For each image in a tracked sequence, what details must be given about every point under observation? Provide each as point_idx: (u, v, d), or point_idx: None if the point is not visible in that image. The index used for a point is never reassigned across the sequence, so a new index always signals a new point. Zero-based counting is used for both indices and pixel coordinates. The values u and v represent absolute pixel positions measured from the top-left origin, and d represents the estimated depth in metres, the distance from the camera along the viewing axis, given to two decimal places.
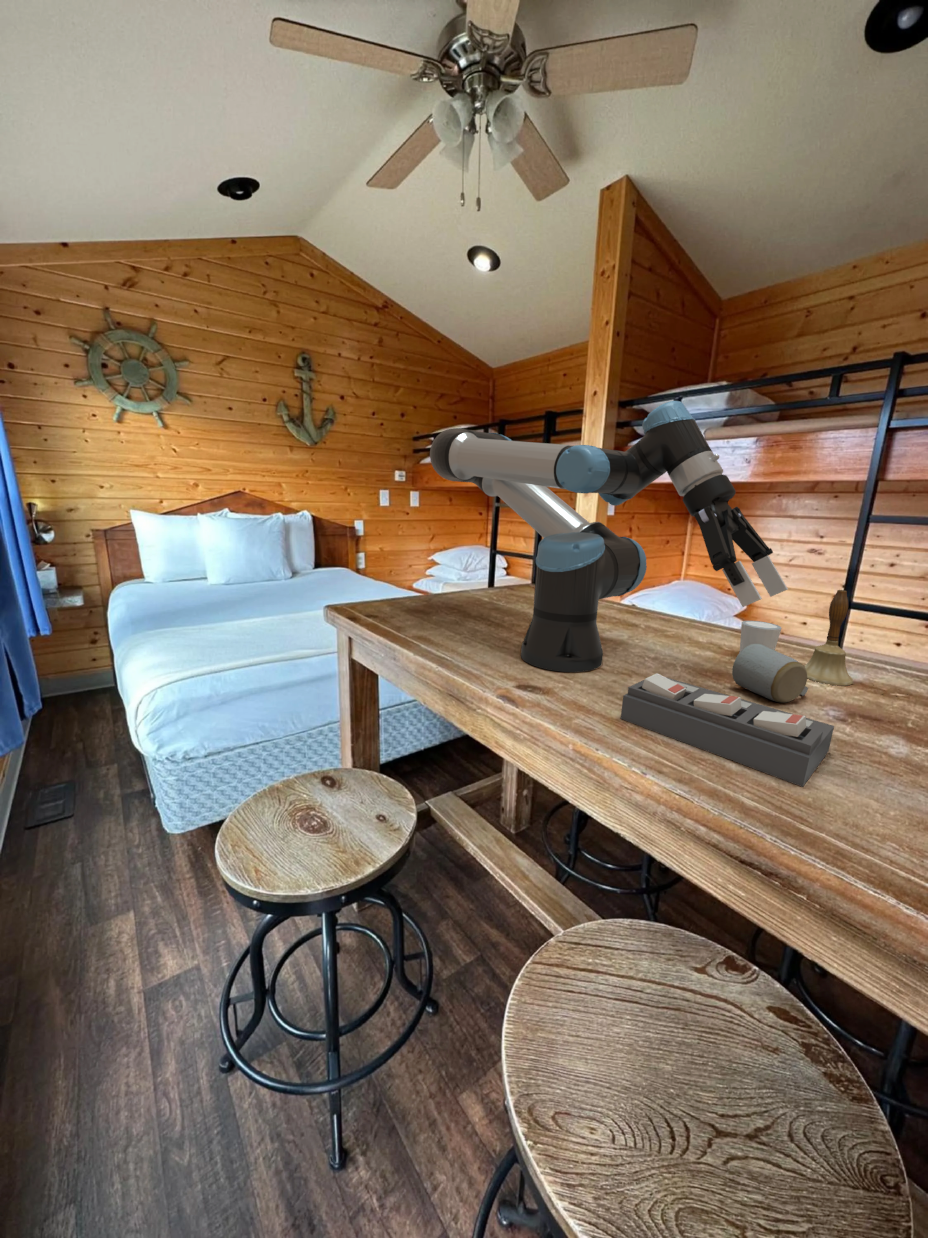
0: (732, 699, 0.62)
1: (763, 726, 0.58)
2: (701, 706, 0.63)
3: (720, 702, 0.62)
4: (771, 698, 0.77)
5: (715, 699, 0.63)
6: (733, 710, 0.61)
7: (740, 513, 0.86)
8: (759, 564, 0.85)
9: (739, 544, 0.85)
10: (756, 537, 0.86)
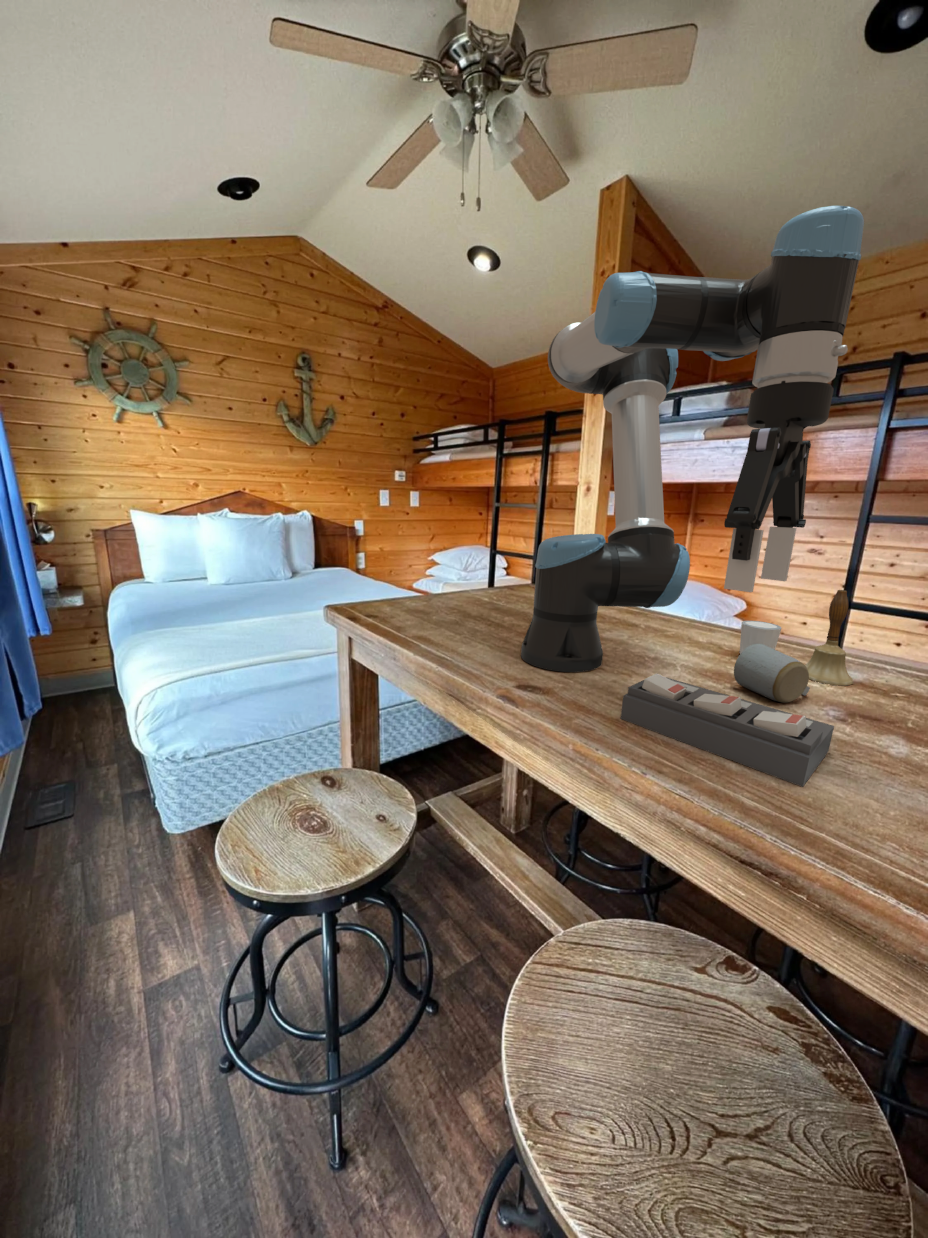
0: (732, 699, 0.62)
1: (763, 726, 0.58)
2: (701, 706, 0.63)
3: (720, 702, 0.62)
4: (773, 698, 0.77)
5: (715, 699, 0.63)
6: (733, 710, 0.61)
7: (806, 453, 0.58)
8: (777, 533, 0.61)
9: (774, 495, 0.59)
10: (800, 495, 0.60)
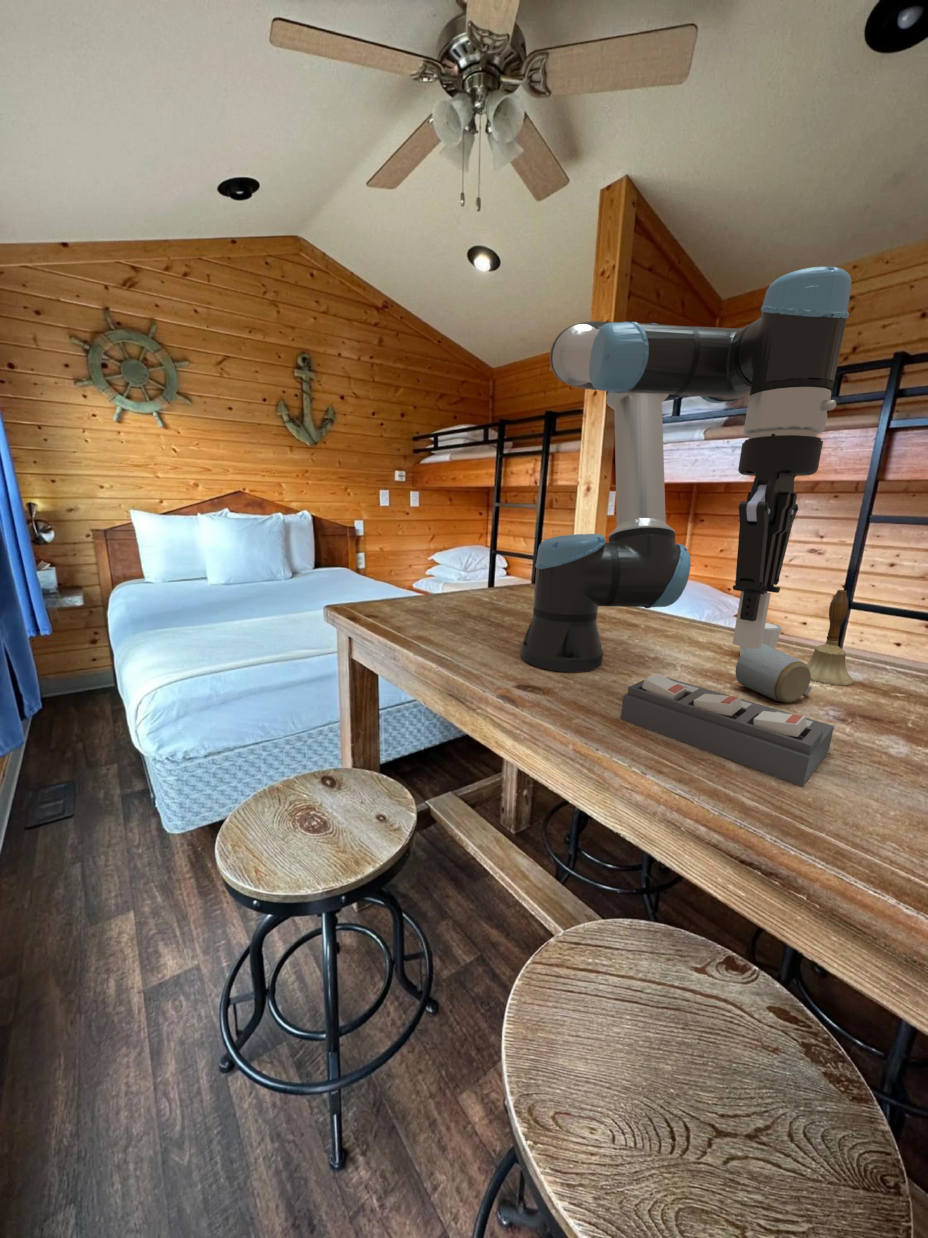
0: (732, 699, 0.62)
1: (763, 726, 0.58)
2: (701, 706, 0.63)
3: (720, 702, 0.62)
4: (774, 698, 0.77)
5: (715, 699, 0.63)
6: (733, 710, 0.61)
7: (793, 513, 0.58)
8: None
9: None
10: (780, 554, 0.58)
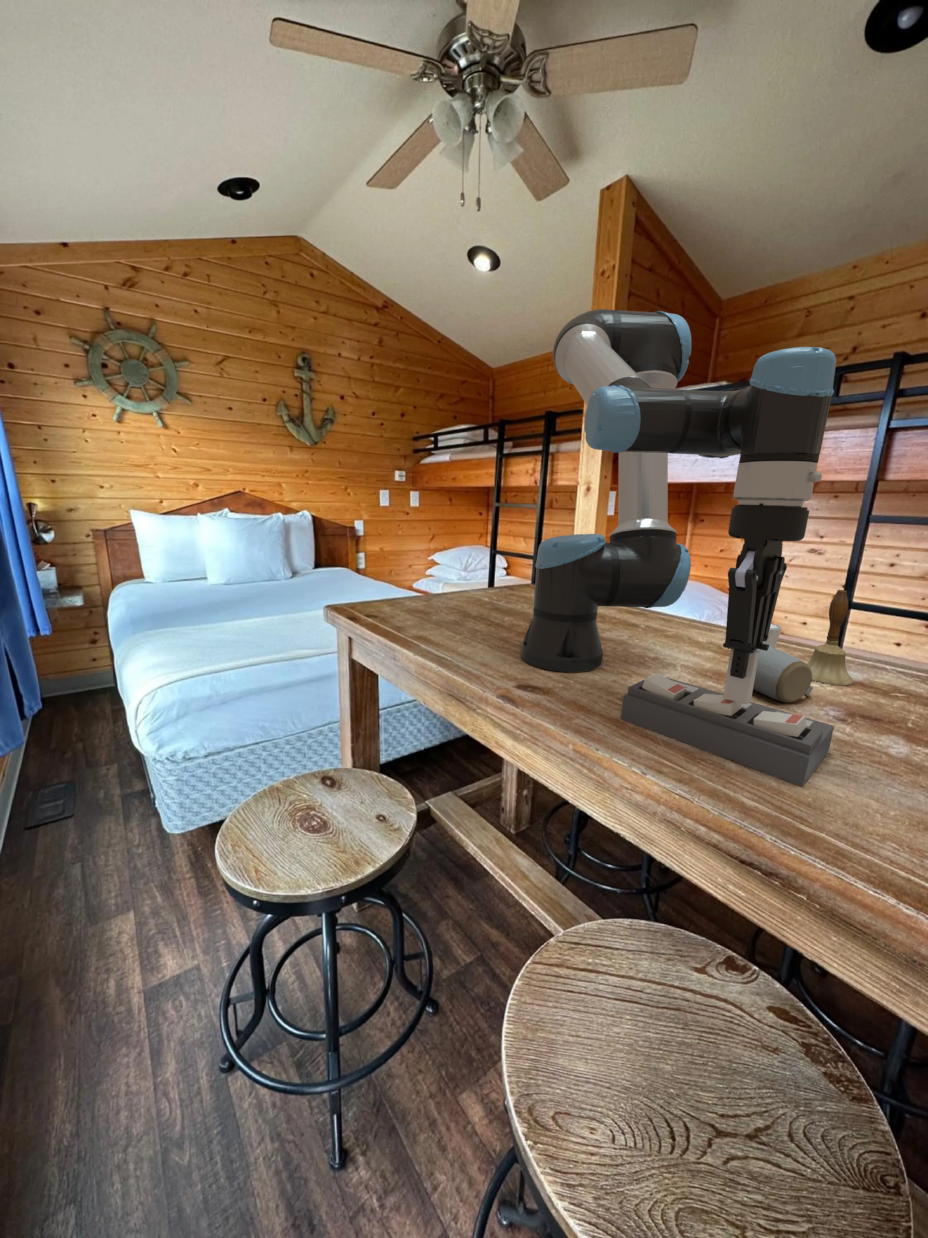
0: None
1: (763, 726, 0.58)
2: (701, 706, 0.63)
3: (720, 702, 0.62)
4: (776, 698, 0.77)
5: (715, 699, 0.63)
6: (733, 710, 0.61)
7: (782, 572, 0.60)
8: None
9: None
10: (769, 612, 0.60)
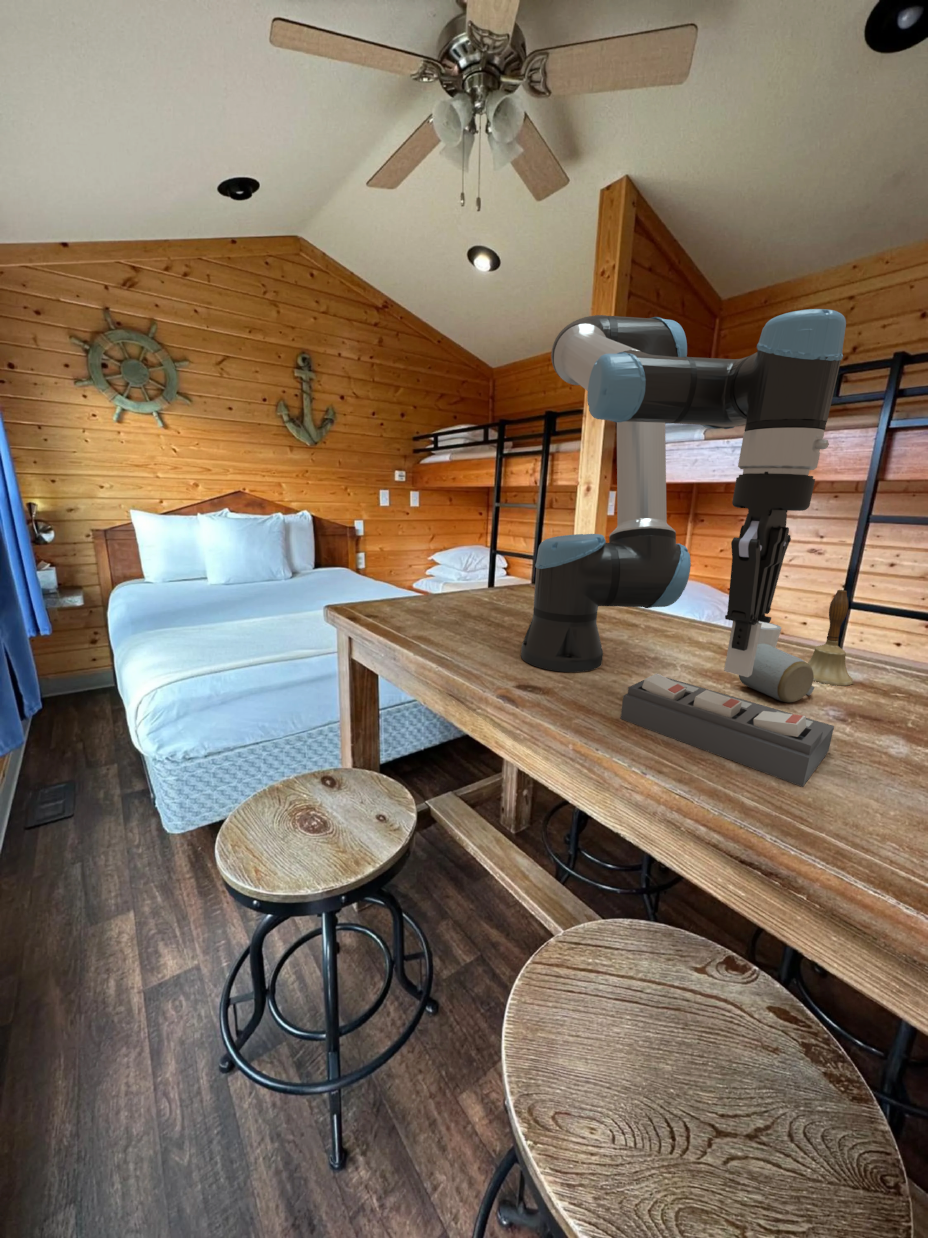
0: (733, 703, 0.62)
1: (763, 726, 0.58)
2: (702, 703, 0.63)
3: (721, 704, 0.61)
4: (778, 698, 0.77)
5: (716, 699, 0.63)
6: (732, 714, 0.61)
7: (786, 544, 0.60)
8: None
9: None
10: (772, 584, 0.60)
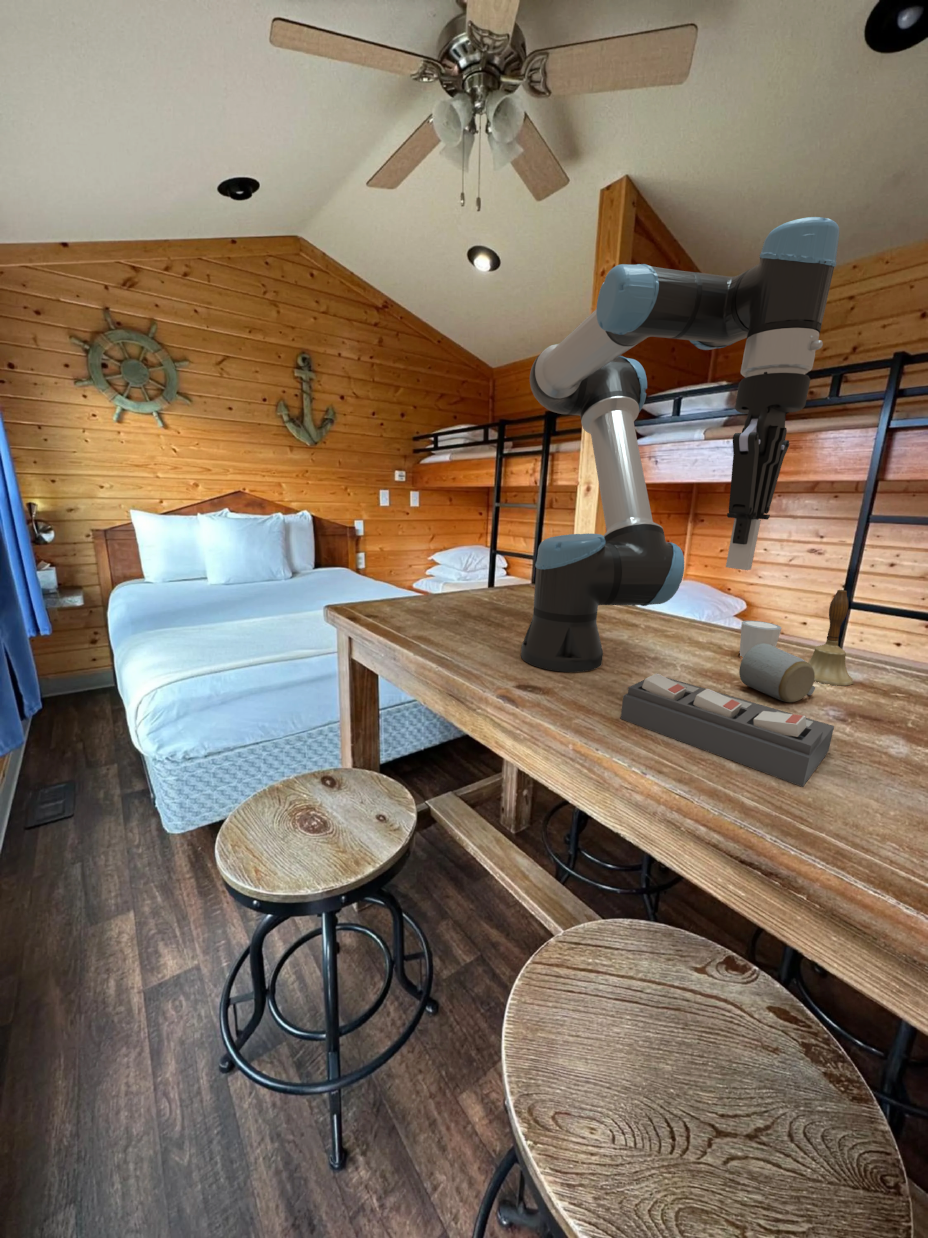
0: (734, 705, 0.62)
1: (763, 726, 0.58)
2: (702, 702, 0.63)
3: (722, 705, 0.61)
4: (779, 698, 0.77)
5: (717, 700, 0.63)
6: (731, 716, 0.61)
7: (784, 448, 0.65)
8: None
9: None
10: (771, 485, 0.65)
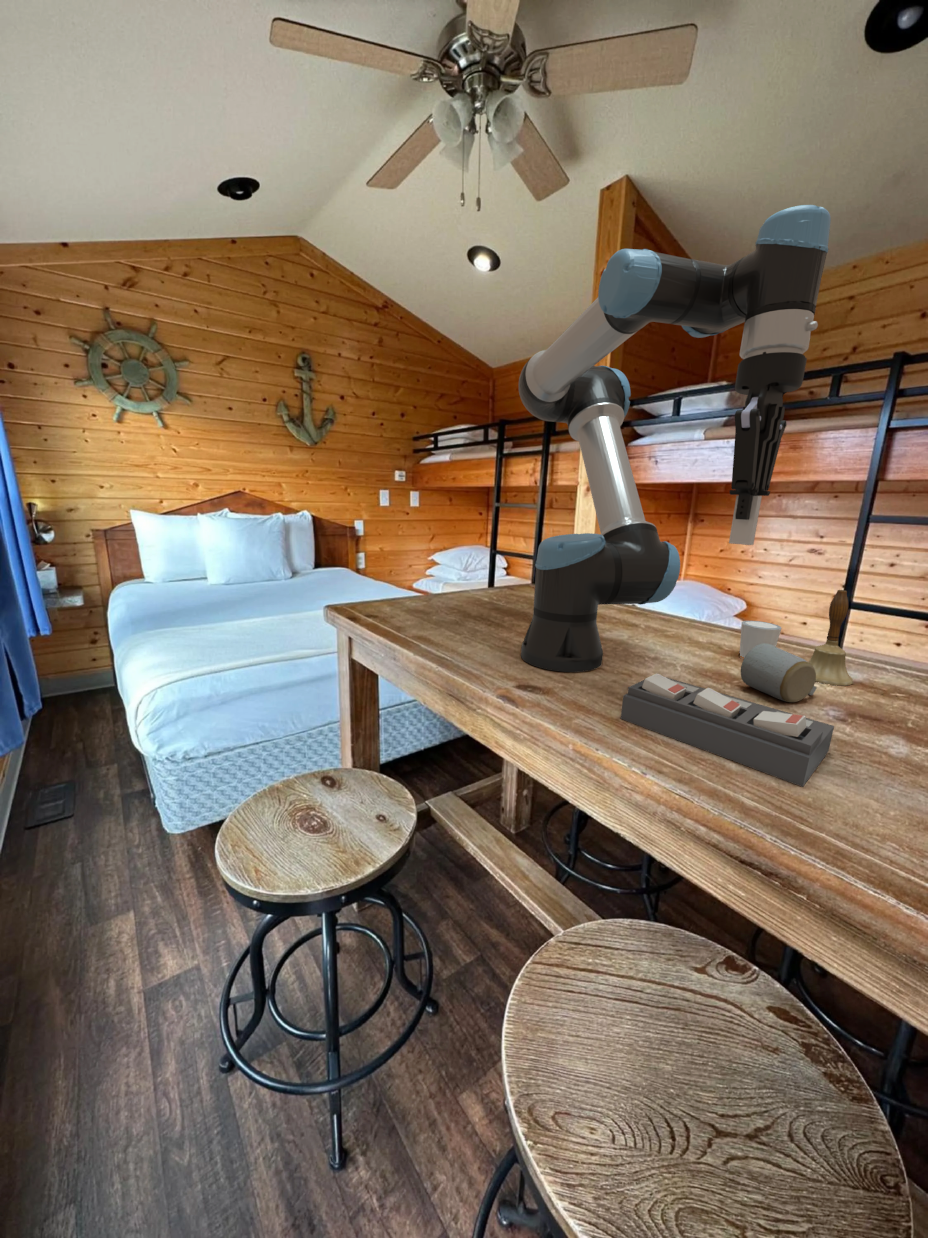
0: (734, 706, 0.62)
1: (763, 726, 0.58)
2: (702, 702, 0.63)
3: (722, 706, 0.61)
4: (780, 698, 0.77)
5: (717, 700, 0.63)
6: (730, 717, 0.61)
7: (782, 428, 0.68)
8: None
9: None
10: (770, 463, 0.68)
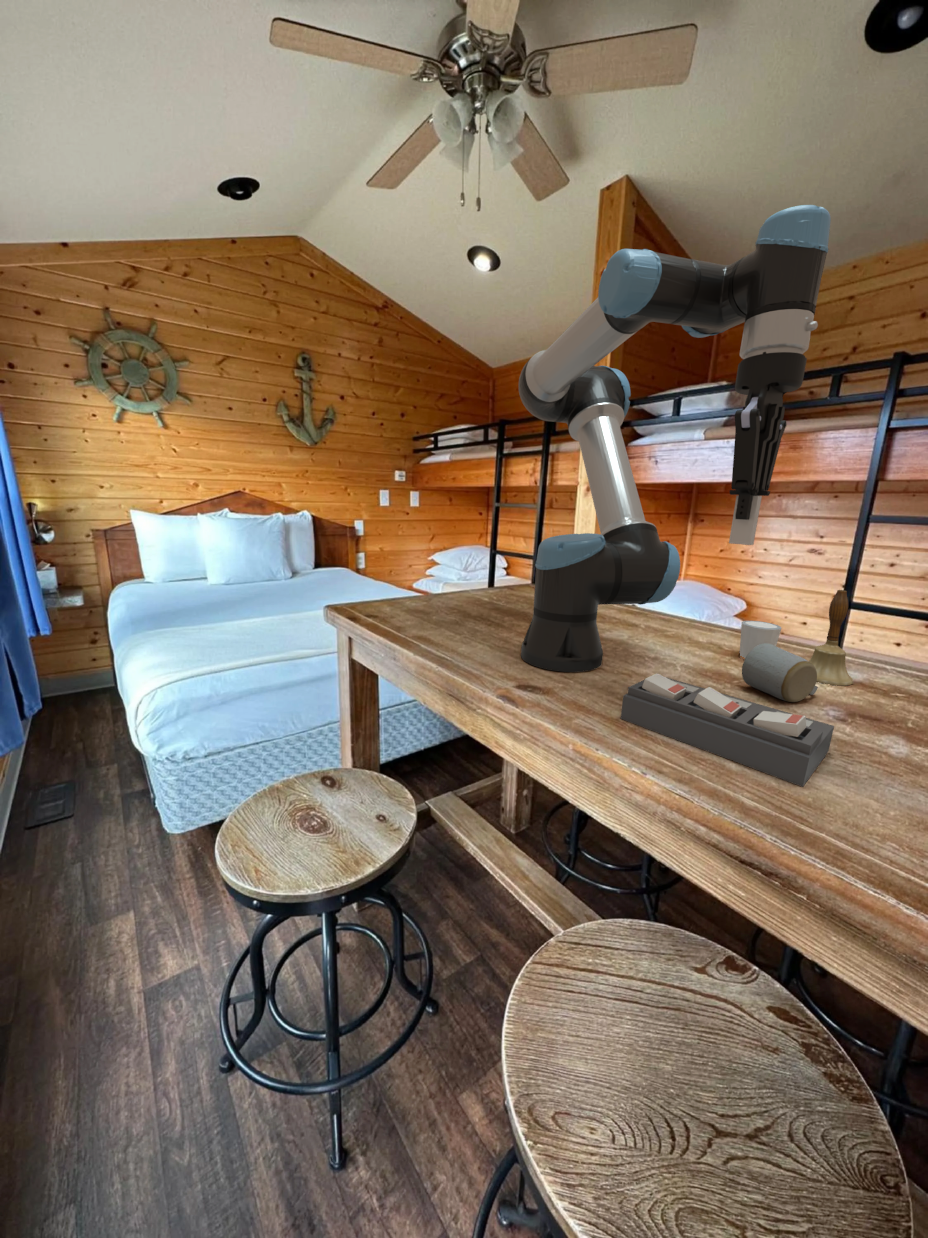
0: (734, 707, 0.62)
1: (763, 726, 0.58)
2: (703, 701, 0.63)
3: (722, 707, 0.61)
4: (781, 697, 0.77)
5: (718, 700, 0.63)
6: None
7: (782, 428, 0.68)
8: None
9: None
10: (770, 463, 0.68)
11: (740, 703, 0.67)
